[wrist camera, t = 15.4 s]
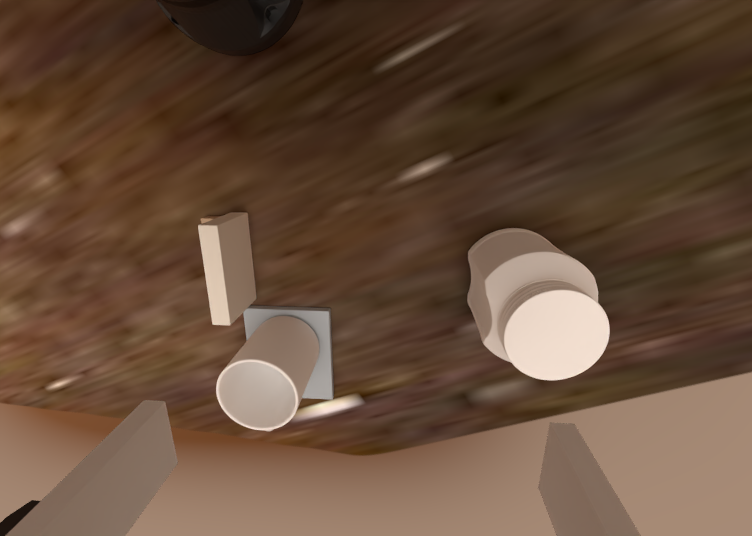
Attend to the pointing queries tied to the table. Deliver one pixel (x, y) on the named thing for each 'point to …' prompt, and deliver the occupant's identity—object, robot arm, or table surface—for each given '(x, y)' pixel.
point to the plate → (321, 325)
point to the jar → (535, 305)
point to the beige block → (227, 265)
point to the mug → (269, 374)
